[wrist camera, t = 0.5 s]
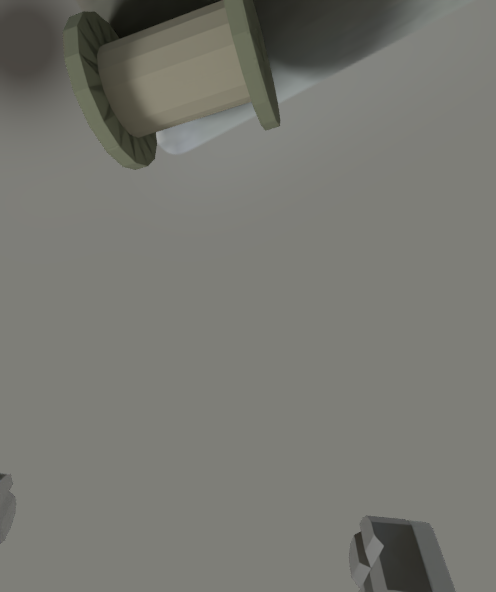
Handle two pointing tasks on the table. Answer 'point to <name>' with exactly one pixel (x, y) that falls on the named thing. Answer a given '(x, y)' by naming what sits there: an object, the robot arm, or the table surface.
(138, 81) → the spool
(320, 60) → the table surface
